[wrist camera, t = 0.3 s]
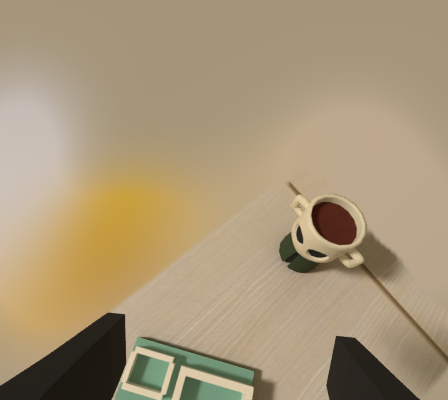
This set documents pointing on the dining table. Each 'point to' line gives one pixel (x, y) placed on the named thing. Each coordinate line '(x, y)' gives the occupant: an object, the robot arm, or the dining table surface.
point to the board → (181, 376)
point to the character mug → (324, 233)
